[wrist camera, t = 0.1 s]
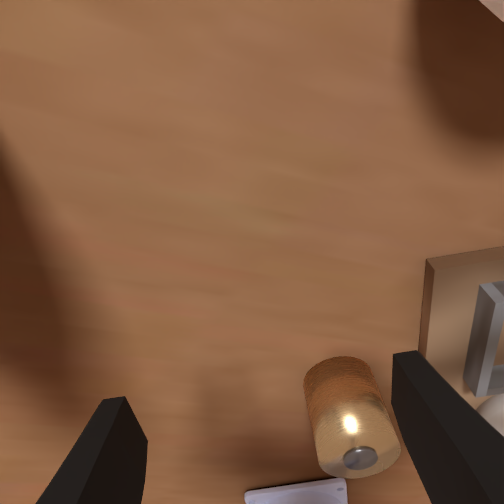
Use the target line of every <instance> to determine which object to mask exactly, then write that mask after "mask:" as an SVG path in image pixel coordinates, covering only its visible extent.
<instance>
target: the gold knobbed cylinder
mask: <svg viewBox="0 0 504 504" xmlns="http://www.w3.org/2000/svg"><path fill="white" fill-rule="evenodd" d="M303 386H304V391H305V396H306V401H307V406H308V411H309V416H310V421H311V426H312V431H313V436H314V441H315V446H316V451H317V456H318V461H319V465H320V467H321V468H322V470H323V471H325V472H326V473H327V474H329V475H332V476H334V477H338V478H346V479H354V478H362V477H367V476H371V475H374V474H377V473H379V472H381V471H383V470H385V469H387V468H388V467H390V466H391V465H392V464H393V463H394V462H395V461H396V460H397V459H398V457H399V455H400V452H401V446H400V443H399V440H398V438H397V435H396V433H395V430H394V428H393V425H392V422H391V420H390V417H389V415H388V412H387V409H386V407H385V404H384V402H383V399H382V397H381V394H380V391H379V389H378V386H377V384H376V381H375V379H374V376H373V373H372V371H371V369H370V367H369V366H368V364H366V363H365V362H364V361H362V360H360V359H357V358H354V357H346V356H344V357H334V358H330V359H327V360H324V361H322V362H320V363H318V364H316V365H315V366H314V367H312V368H311V369H310V370H309V371H308V373H307V374H306V376H305V378H304V382H303Z"/></svg>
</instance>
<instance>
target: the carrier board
mask: <svg viewBox="0 0 504 504" xmlns="http://www.w3.org/2000/svg"><path fill="white" fill-rule="evenodd" d="M418 352H420V353H421V354H422V355H423V356H424V358H425V359H426V360H427V361H428V362H429V363H430V364H431V365H432V366H433V367H434V368H435V370H436V371H437V372H438V373H439V374H440V375H441V376H442V377H443V378H444V379H445V380H446V381H447V382H448V383H449V384H450V385H451V386H452V387H453V388H454V389H455V390H456V391H457V392H458V394H459V395H460V396H461V397H462V398H464V399H465V400H466V401H467V402H468V403H469V404H470V405H471V406H472V407H473V408H474V409H475V410H476V411H477V412H478V413H479V414H480V415H481V416H482V417H483V418H484V419H485V420H486V421H487V422H488V423H490V424H491V425H492V426H493V427H494V428H495V429H496V430H497V431H498V432H499V433H500V434H502V435H503V436H504V246H503V247H497V248H491V249H485V250H479V251H473V252H467V253H460V254H454V255H448V256H442V257H436V258H430V259H426V270H425V281H424V293H423V304H422V316H421V327H420V339H419V350H418Z"/></svg>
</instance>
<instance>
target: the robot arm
mask: <svg viewBox="0 0 504 504" xmlns="http://www.w3.org/2000/svg"><path fill="white" fill-rule="evenodd" d="M391 404H392V407H393V410H394V413H395V416H396V419H397V423H398V426H399V429H400V431H401V434H402V437H403V440H404V443H405V445H406V447H407V450H408V452H409V454H410V456H411V459H412V461H413V463H414V465H415V468H416V470H417V472H418V474H419V476H420V479H421V481H422V483H423V485H424V487H425V490H426V492H427V494H428V496H429V498H430V501H431V503H432V504H504V436H503V435H502V434H500V433H499V432H498V431H497V430H496V429H495V428H494V427H493V426H492V425H491V424H490V423H488V422H487V421H486V420H485V419H484V418H483V417H482V416H481V415H480V414H479V413H478V412H477V411H476V410H475V409H474V408H473V407H472V406H471V405H470V404H469V403H468V402H467V401H466V400H465V399H464V398H462V397H461V396H460V395H459V394H458V392H457V391H456V390H455V389H454V388H453V387H452V386H451V385H450V384H449V383H448V382H447V381H446V380H445V379H444V378H443V377H442V376H441V375H440V374H439V373H438V372H437V371H436V370H435V368H434V367H433V366H432V365H431V364H430V363H429V362H428V361H427V360H426V359H425V358H424V356H423V355H422V354H421V353H420V352H418V351H417V350H415V351H409V352H402V353H396V354H393V369H392V397H391ZM147 445H148V440H147V438H146V436H145V434H144V432H143V430H142V428H141V426H140V425H139V423H138V421H137V419H136V417H135V415H134V413H133V411H132V409H131V407H130V405H129V403H128V401H127V399H126V397H125V396H123V397H116V398H110V399H104V400H102V402H101V403H100V404H99V406H98V408H97V409H96V411H95V412H94V414H93V416H92V417H91V419H90V421H89V422H88V424H87V425H86V427H85V429H84V430H83V432H82V433H81V435H80V437H79V438H78V440H77V442H76V443H75V445H74V446H73V448H72V449H71V451H70V453H69V454H68V456H67V457H66V459H65V460H64V462H63V463H62V465H61V467H60V468H59V470H58V471H57V473H56V474H55V476H54V477H53V479H52V480H51V482H50V483H49V485H48V486H47V488H46V489H45V491H44V492H43V494H42V495H41V496H40V498H39V499H38V501H37V502H36V504H141V501H142V495H143V490H144V484H145V475H146V462H147ZM244 497H245V502H246V504H348V502H347V487H346V481H345V479H343V478H334V479H327V480H320V481H313V482H307V483H300V484H293V485H286V486H279V487H272V488H265V489H259V490H252V491H247V492H246V493H245V494H244Z"/></svg>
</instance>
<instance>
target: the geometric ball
mask: <svg viewBox="0 0 504 504" xmlns="http://www.w3.org/2000/svg"><path fill="white" fill-rule="evenodd" d="M479 1H480V2H481V3H482V4H483V5H485V6H486V7H487V8H488V9H489V10H490V11H491V12H492V13H494V14H495V15H496V16H497V17H498V18H499V19H500V20H501V21H503V22H504V0H479Z"/></svg>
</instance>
